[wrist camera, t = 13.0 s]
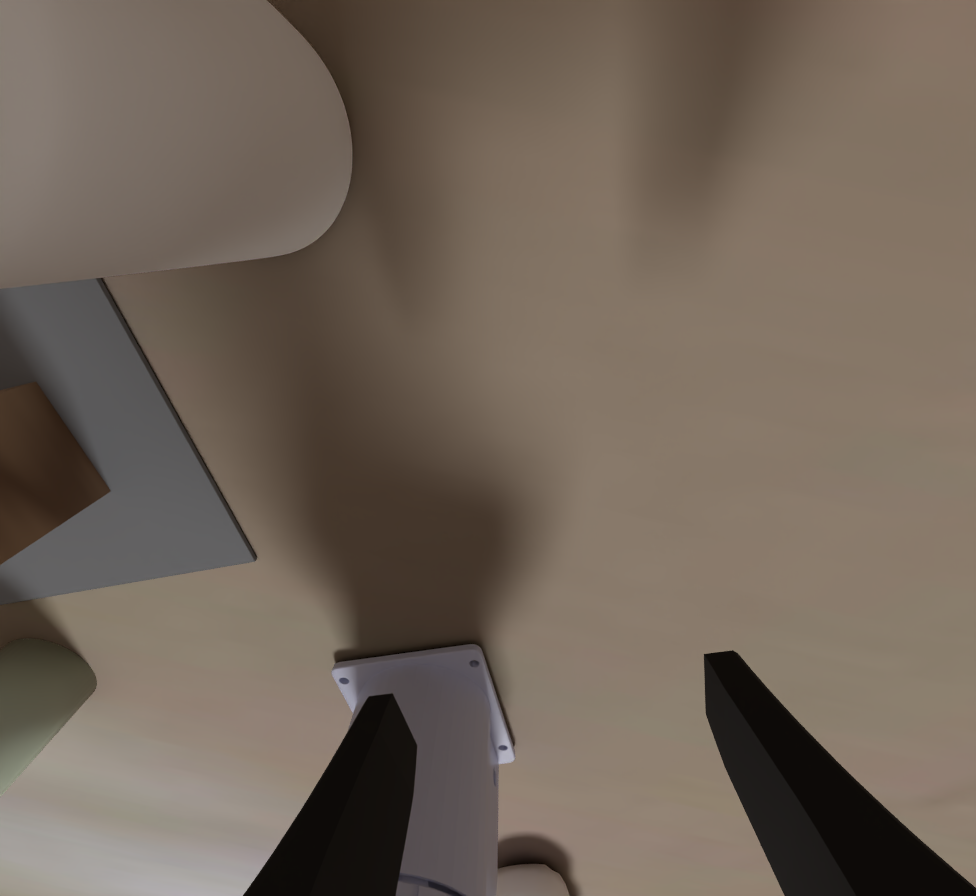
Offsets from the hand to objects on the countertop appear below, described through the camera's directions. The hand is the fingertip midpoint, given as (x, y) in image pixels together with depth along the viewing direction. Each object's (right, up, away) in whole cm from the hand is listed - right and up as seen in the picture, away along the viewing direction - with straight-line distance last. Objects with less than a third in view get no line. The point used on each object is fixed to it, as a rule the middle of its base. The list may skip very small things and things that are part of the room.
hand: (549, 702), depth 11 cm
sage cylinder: (-26, -6, +14) cm, 30 cm away
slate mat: (-21, +6, +8) cm, 23 cm away
